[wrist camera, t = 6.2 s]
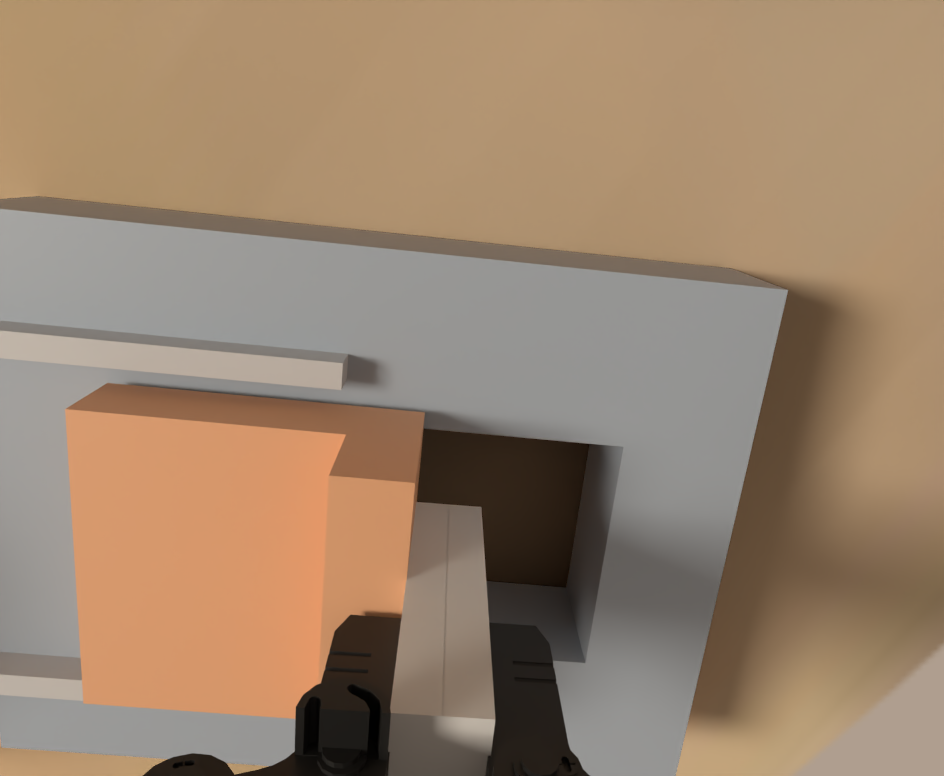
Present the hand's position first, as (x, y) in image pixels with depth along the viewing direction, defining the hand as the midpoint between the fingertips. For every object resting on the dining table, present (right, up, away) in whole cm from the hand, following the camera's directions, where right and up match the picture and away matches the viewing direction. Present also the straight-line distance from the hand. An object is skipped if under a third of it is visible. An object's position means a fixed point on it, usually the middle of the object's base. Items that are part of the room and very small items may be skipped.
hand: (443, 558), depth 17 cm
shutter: (-4, 0, +1) cm, 4 cm away
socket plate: (-2, +1, +4) cm, 5 cm away
